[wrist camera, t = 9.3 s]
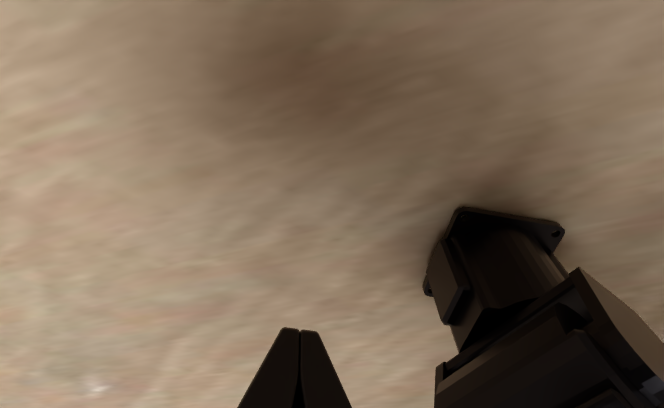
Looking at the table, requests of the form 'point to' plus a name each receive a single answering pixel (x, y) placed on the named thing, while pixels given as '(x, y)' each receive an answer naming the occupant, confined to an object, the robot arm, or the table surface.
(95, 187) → the table surface
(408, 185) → the table surface
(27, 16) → the table surface
